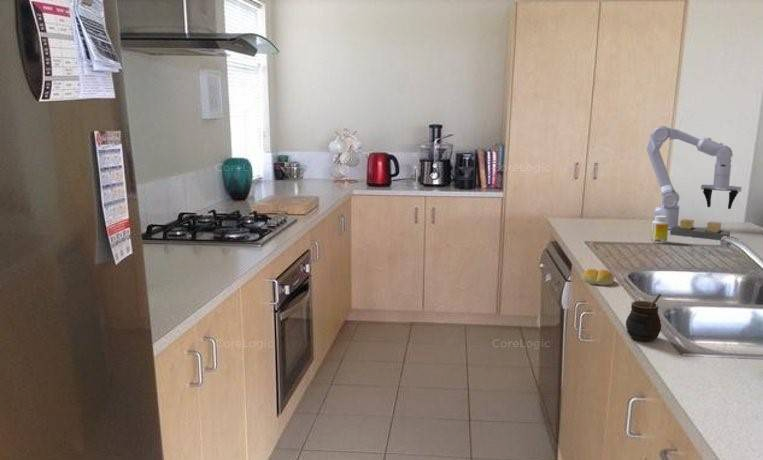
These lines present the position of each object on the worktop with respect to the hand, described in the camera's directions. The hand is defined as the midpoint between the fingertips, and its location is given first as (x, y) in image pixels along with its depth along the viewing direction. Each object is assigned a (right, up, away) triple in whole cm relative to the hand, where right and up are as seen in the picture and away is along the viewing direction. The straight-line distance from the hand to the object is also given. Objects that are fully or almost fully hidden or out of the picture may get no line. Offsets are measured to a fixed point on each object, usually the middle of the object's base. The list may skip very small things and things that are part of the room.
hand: (719, 207), depth 248 cm
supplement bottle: (-33, -14, -17) cm, 40 cm away
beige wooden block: (-16, -11, -4) cm, 20 cm away
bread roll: (-76, -25, -70) cm, 106 cm away
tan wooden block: (-8, -12, -11) cm, 18 cm away
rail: (-12, -12, -7) cm, 18 cm away
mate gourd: (-82, -34, -114) cm, 145 cm away
